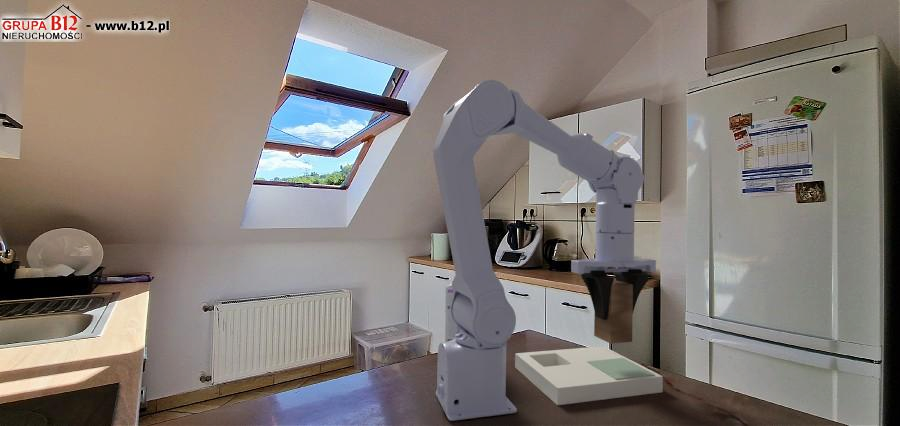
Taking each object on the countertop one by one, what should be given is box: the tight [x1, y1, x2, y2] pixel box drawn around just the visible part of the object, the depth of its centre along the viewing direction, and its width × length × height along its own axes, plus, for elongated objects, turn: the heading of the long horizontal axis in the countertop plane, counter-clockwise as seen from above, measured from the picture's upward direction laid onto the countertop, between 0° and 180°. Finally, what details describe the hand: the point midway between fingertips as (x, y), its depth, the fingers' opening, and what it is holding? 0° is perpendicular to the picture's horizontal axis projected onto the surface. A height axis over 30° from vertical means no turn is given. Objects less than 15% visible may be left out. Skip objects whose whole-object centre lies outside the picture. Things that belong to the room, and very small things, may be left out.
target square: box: [587, 358, 655, 380], centre depth 62 cm, size 7×7×1 cm
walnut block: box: [593, 279, 634, 344], centre depth 62 cm, size 4×4×9 cm
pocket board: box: [514, 345, 664, 406], centre depth 63 cm, size 18×14×2 cm
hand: (613, 317), depth 62 cm, fingers closed on walnut block, 4 cm apart
